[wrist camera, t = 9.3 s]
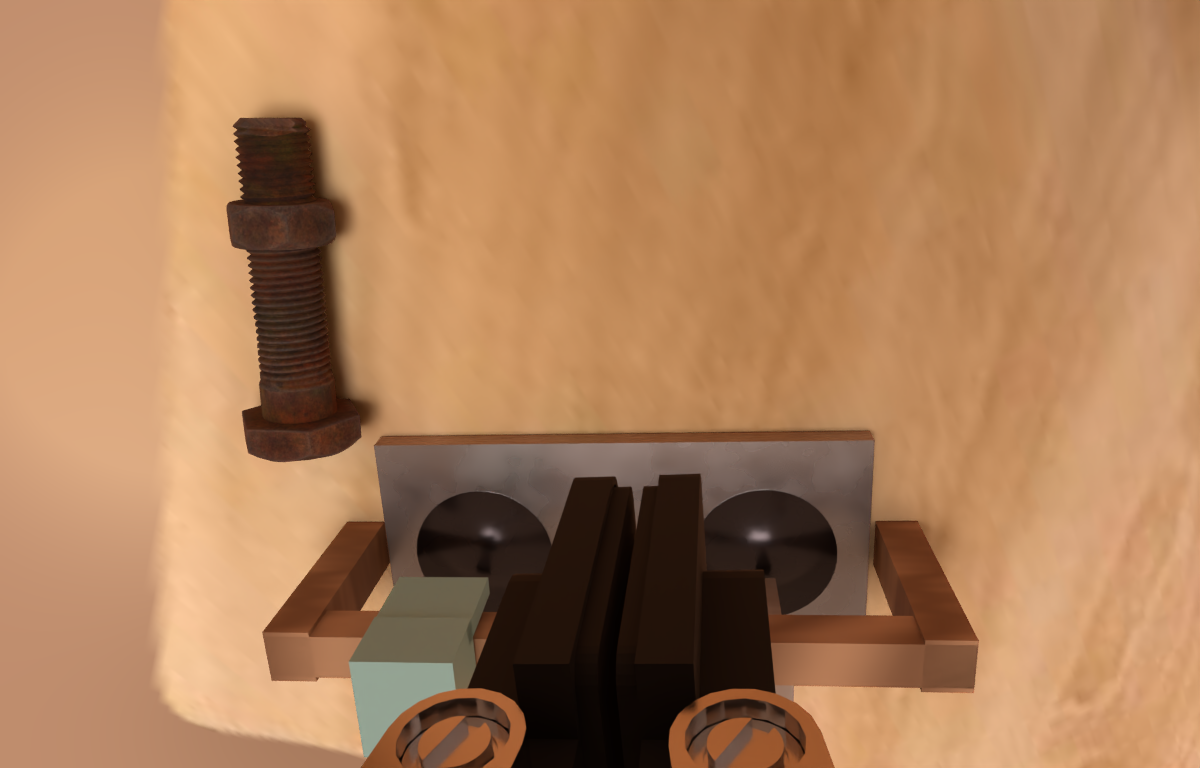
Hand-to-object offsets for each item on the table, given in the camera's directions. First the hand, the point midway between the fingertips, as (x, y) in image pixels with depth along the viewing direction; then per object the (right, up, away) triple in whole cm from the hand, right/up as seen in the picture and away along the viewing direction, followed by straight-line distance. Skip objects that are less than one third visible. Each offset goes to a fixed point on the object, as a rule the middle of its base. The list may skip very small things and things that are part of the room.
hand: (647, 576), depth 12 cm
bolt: (-15, +8, +32) cm, 36 cm away
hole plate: (+1, -6, +34) cm, 35 cm away
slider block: (-7, -6, +34) cm, 35 cm away
